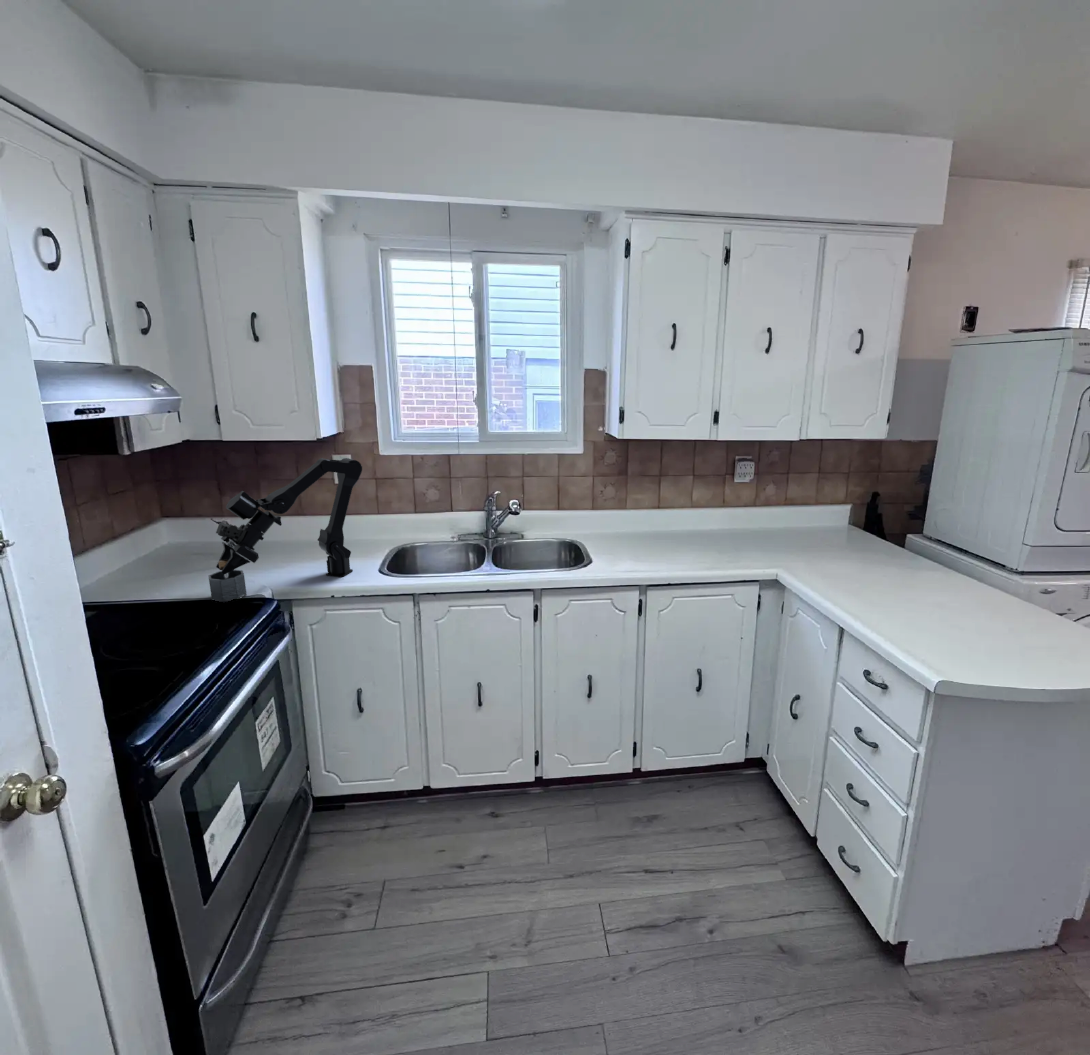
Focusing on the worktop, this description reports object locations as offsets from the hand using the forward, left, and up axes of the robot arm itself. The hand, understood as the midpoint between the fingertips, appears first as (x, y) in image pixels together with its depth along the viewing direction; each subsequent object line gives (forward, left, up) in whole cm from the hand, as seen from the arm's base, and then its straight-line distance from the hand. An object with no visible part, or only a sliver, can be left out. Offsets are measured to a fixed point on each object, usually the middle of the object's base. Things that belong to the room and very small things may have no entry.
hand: (220, 570), depth 164 cm
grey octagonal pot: (-1, -1, -9) cm, 9 cm away
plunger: (-1, -1, -8) cm, 8 cm away
